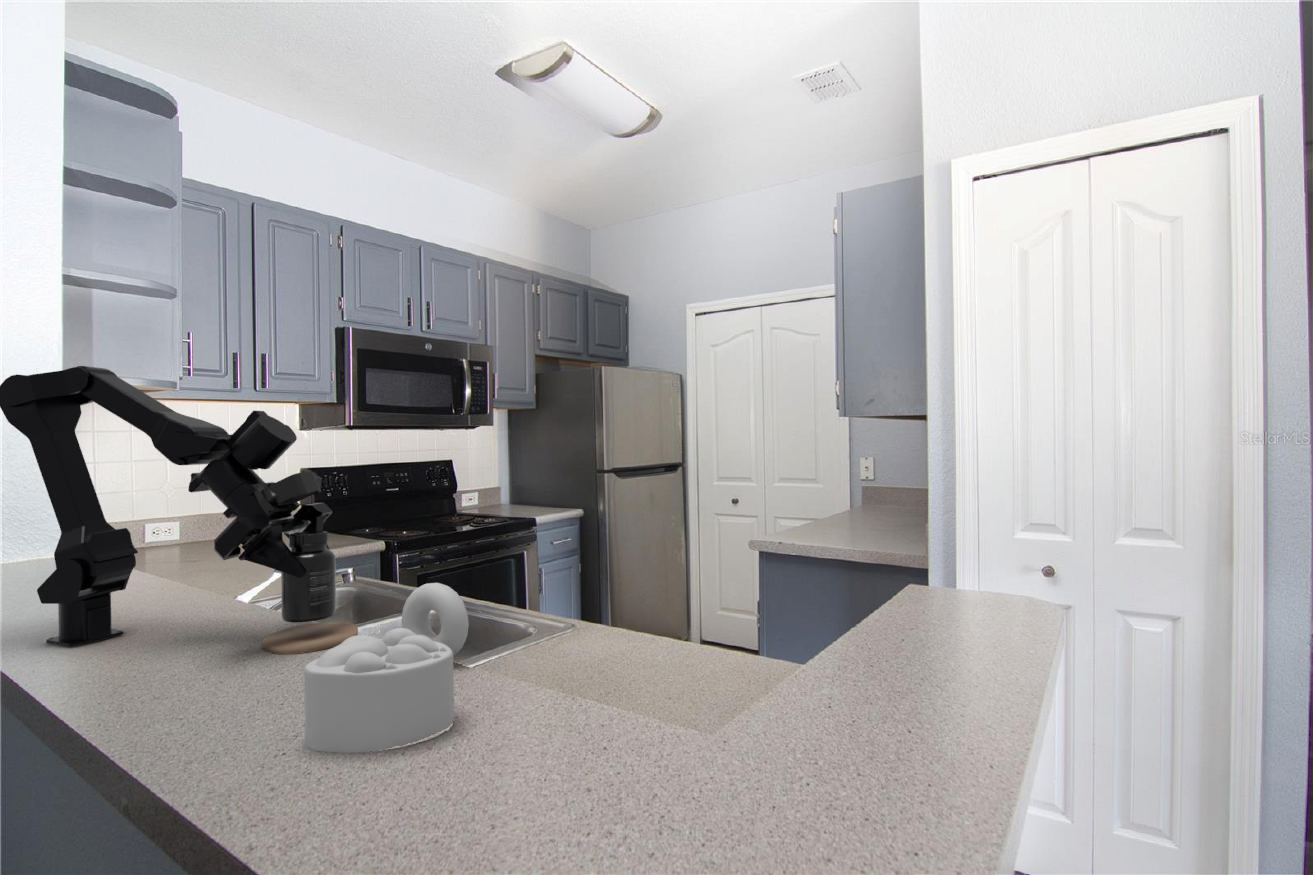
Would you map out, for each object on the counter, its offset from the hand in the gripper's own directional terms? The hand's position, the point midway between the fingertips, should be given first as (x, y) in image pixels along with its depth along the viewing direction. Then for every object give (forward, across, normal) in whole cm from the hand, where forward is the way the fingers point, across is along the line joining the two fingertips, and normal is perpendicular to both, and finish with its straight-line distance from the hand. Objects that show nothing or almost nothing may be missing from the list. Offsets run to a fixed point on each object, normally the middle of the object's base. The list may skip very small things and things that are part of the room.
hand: (318, 570), depth 91 cm
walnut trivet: (+6, 0, +8) cm, 10 cm away
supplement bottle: (+4, 0, +6) cm, 7 cm away
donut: (+21, -8, -7) cm, 24 cm away
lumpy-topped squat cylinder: (+23, -27, -9) cm, 37 cm away
